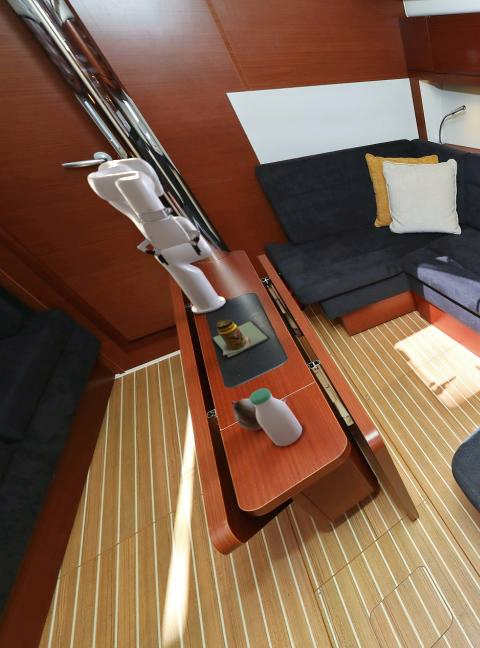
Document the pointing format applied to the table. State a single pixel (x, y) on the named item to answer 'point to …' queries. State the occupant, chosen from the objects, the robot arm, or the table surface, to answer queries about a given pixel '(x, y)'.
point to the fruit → (246, 414)
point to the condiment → (231, 336)
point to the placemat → (248, 331)
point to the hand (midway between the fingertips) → (183, 259)
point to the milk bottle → (275, 418)
